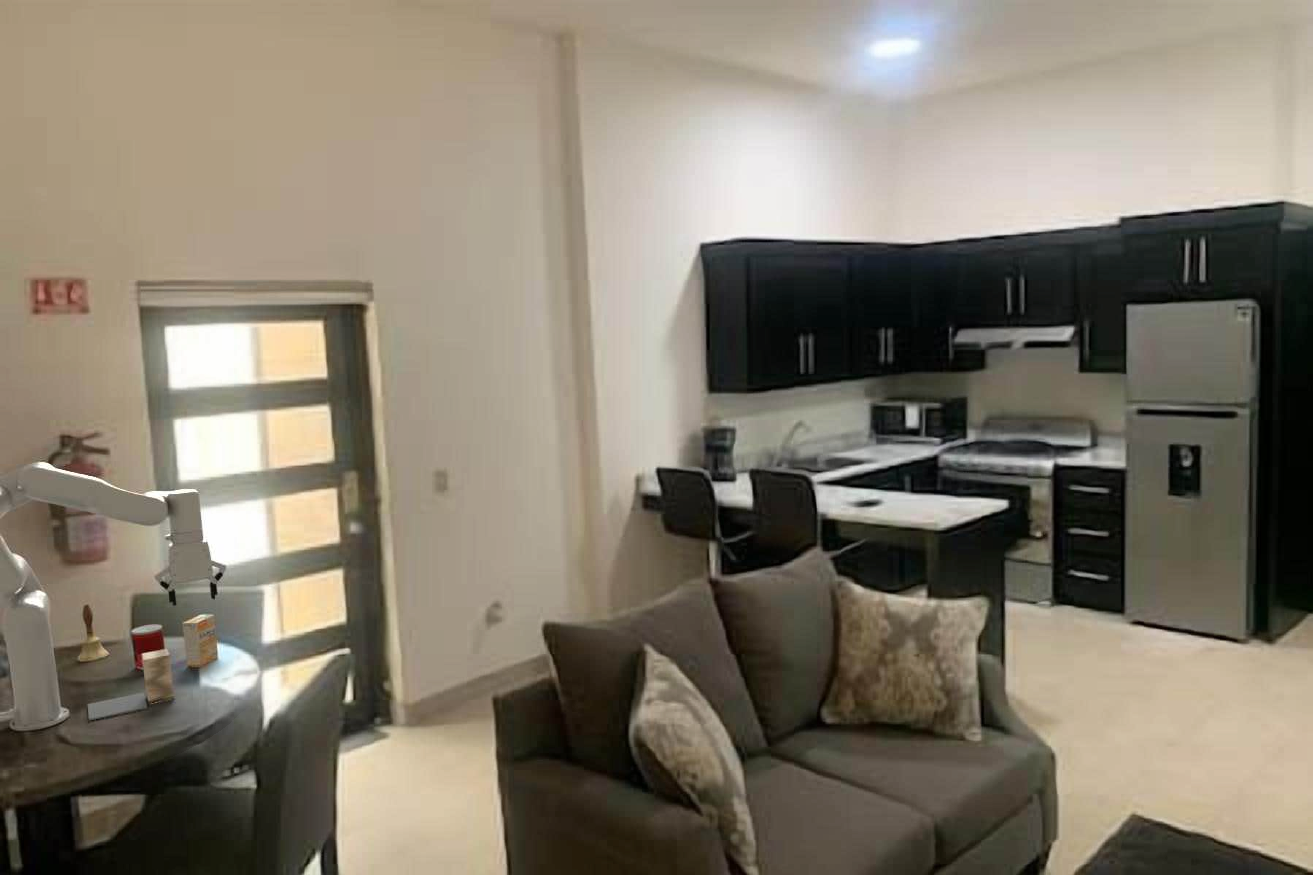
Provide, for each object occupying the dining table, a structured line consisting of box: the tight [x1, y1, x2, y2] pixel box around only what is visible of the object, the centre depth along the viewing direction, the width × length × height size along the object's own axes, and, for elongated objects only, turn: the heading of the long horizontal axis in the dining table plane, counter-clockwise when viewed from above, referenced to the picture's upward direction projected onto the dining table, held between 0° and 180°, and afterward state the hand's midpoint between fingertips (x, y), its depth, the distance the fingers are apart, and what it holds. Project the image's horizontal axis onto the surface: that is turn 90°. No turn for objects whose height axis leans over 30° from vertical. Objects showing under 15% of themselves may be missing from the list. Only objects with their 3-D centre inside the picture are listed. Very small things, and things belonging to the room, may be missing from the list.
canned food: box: [130, 623, 166, 668], centre depth 292 cm, size 8×8×11 cm
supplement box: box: [182, 614, 219, 668], centre depth 292 cm, size 8×5×13 cm, turn 168°
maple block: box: [142, 648, 175, 705], centre depth 265 cm, size 6×6×12 cm
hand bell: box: [76, 603, 110, 663], centre depth 302 cm, size 8×8×16 cm
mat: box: [87, 692, 148, 722], centre depth 261 cm, size 13×12×1 cm
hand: (193, 601), depth 268 cm, fingers open, 9 cm apart
